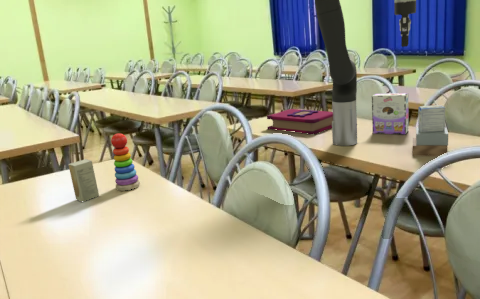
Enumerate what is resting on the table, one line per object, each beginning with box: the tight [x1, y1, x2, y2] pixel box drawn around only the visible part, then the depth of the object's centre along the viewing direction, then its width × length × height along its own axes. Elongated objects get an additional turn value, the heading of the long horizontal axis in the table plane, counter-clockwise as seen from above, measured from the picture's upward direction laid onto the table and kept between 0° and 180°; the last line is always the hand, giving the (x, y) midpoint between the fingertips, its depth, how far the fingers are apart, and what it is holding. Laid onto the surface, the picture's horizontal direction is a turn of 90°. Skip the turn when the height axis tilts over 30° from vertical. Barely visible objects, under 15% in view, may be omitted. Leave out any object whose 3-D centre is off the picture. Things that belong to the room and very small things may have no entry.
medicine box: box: [417, 104, 446, 133], centre depth 155 cm, size 8×4×9 cm, turn 81°
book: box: [266, 108, 333, 135], centre depth 213 cm, size 21×28×8 cm
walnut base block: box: [412, 137, 448, 157], centre depth 158 cm, size 11×11×4 cm
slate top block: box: [415, 126, 449, 146], centre depth 157 cm, size 10×10×4 cm
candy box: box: [371, 92, 409, 135], centre depth 187 cm, size 14×6×16 cm, turn 58°
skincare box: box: [68, 158, 100, 203], centre depth 141 cm, size 6×4×12 cm
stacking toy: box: [110, 133, 141, 192], centre depth 147 cm, size 8×8×19 cm
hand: (405, 45), depth 169 cm, fingers open, 8 cm apart
